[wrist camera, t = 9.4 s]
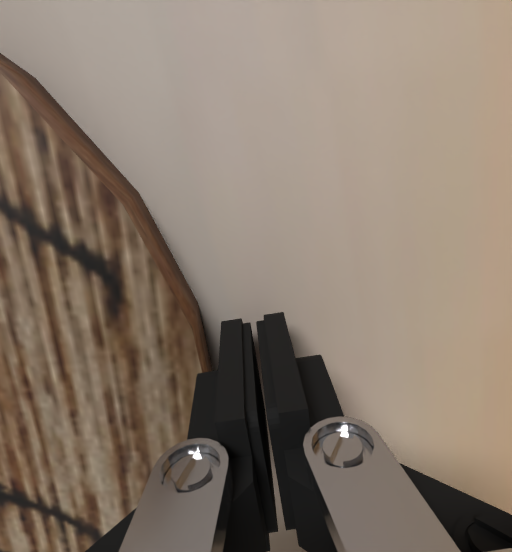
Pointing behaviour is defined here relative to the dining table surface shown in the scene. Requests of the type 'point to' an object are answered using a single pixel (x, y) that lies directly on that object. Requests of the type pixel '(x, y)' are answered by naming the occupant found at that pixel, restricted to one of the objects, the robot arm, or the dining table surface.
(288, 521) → the robot arm
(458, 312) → the dining table surface
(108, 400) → the trivet
